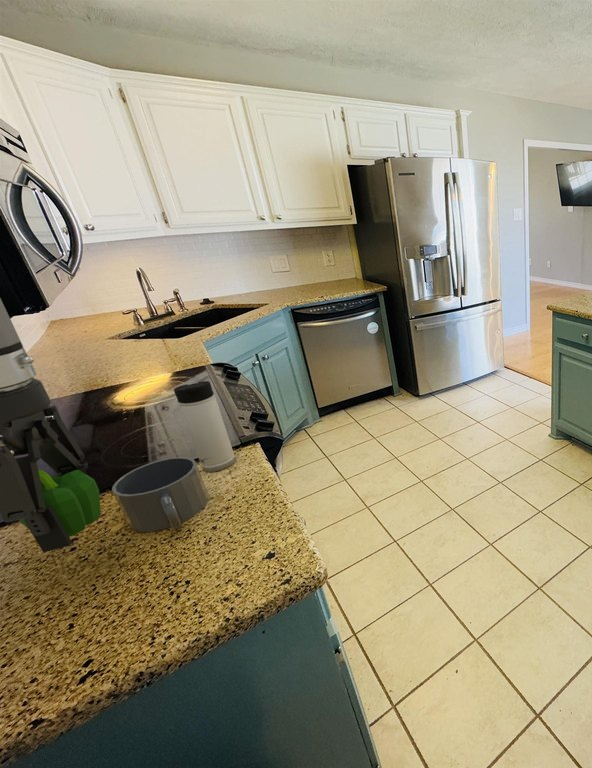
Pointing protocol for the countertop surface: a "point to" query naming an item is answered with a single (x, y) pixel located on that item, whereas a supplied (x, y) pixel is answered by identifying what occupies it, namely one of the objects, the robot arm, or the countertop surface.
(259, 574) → the countertop surface
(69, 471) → the robot arm
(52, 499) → the bell pepper
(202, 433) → the travel mug
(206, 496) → the wide gray mug
